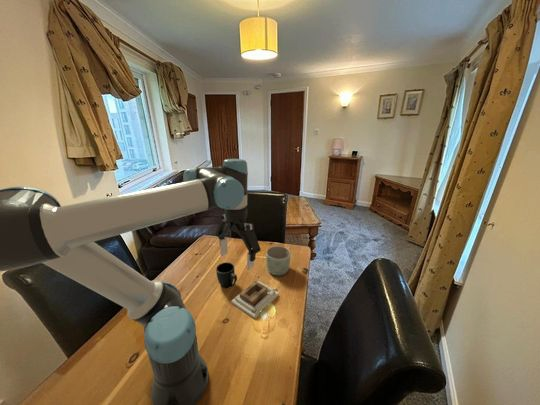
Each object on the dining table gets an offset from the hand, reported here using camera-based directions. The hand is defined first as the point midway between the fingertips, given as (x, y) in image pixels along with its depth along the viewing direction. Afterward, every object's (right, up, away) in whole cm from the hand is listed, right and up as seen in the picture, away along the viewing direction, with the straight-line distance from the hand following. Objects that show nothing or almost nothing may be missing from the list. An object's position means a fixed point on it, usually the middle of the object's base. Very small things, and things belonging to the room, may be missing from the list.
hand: (236, 260), depth 79 cm
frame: (+5, -19, +14) cm, 25 cm away
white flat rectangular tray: (+6, -20, +15) cm, 26 cm away
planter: (+16, -14, +34) cm, 40 cm away
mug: (-7, -18, +22) cm, 29 cm away
